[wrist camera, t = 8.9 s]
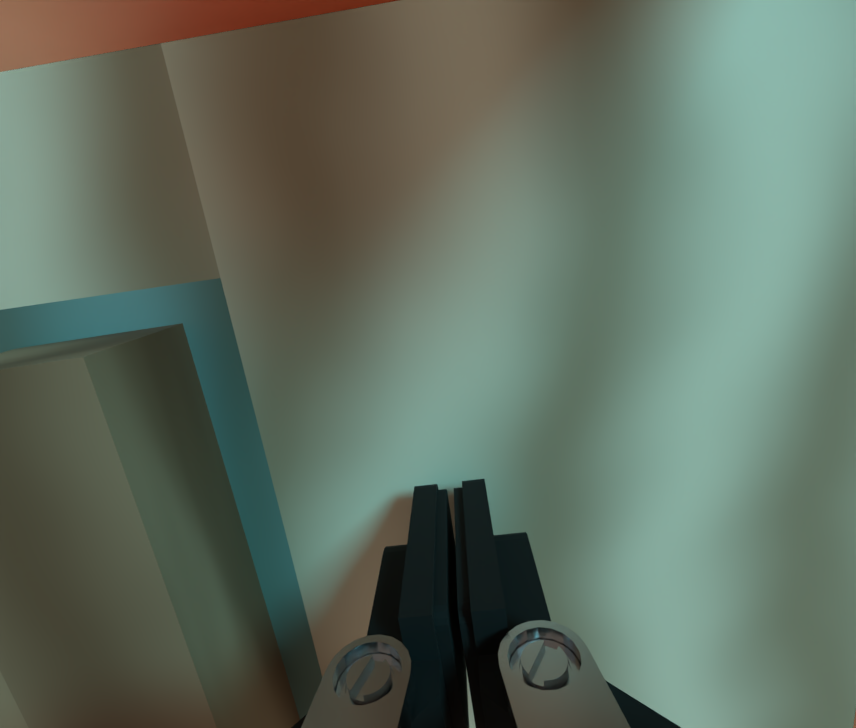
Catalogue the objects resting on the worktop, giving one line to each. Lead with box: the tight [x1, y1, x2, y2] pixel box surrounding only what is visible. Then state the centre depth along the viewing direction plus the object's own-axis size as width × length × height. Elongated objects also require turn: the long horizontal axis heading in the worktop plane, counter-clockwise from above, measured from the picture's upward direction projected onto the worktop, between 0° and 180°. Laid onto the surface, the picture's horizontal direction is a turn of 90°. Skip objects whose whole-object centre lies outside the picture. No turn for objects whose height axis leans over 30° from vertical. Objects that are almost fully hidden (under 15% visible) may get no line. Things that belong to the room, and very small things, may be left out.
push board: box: [0, 0, 856, 728], centre depth 12 cm, size 30×22×1 cm
